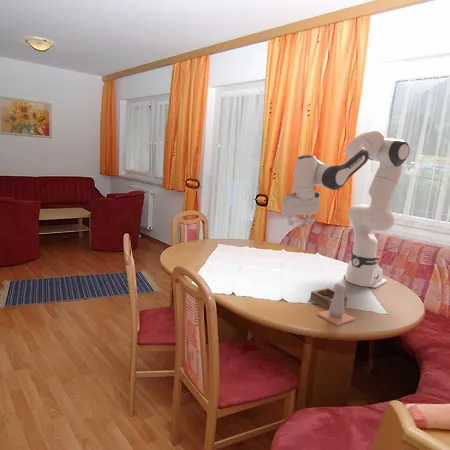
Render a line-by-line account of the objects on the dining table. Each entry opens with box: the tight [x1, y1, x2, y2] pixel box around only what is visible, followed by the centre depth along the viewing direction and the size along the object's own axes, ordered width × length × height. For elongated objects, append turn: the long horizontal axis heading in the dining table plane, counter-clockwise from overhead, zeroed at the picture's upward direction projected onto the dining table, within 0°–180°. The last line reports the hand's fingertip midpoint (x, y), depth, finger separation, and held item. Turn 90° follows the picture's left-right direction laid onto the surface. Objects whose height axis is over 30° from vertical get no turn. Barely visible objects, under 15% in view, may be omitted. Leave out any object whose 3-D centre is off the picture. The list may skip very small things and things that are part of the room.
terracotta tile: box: [317, 309, 356, 327], centre depth 146 cm, size 10×10×1 cm
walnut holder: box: [309, 287, 348, 309], centre depth 161 cm, size 11×11×4 cm
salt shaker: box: [328, 282, 347, 318], centre depth 145 cm, size 6×6×13 cm
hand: (298, 224), depth 163 cm, fingers open, 8 cm apart
